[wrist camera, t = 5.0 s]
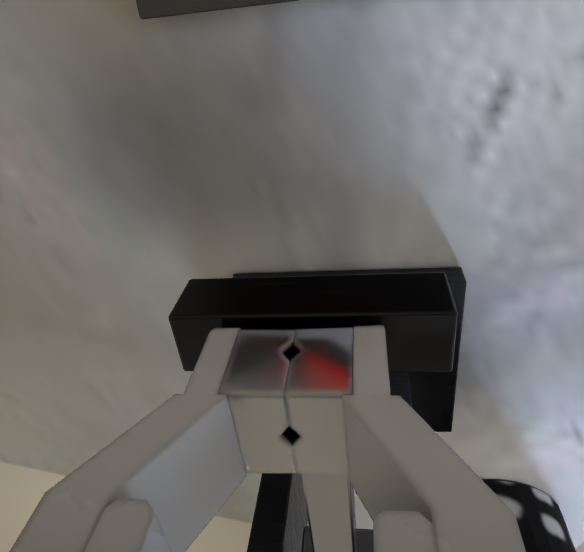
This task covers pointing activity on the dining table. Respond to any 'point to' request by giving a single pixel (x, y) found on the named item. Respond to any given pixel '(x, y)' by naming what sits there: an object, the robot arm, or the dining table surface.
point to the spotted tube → (535, 517)
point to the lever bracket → (409, 385)
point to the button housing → (192, 6)
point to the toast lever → (328, 314)
